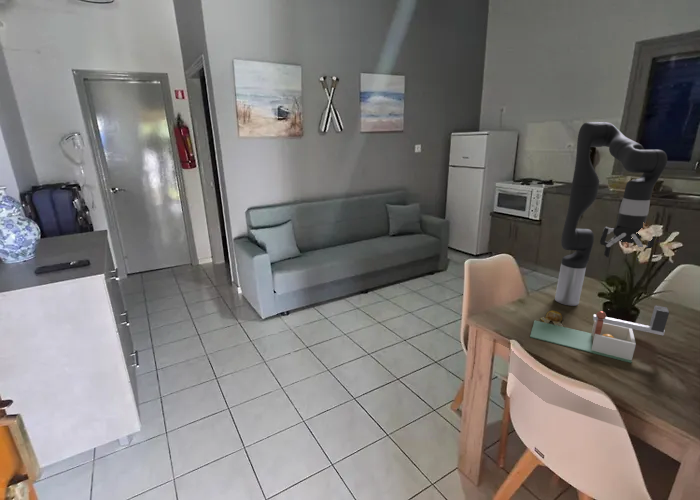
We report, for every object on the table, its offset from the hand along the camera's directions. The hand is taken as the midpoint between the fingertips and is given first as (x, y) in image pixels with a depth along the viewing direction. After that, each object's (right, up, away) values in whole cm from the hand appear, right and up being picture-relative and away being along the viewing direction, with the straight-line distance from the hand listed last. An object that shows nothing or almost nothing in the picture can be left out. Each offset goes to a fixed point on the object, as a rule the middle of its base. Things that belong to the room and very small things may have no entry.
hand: (622, 259), depth 123 cm
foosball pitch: (-11, -29, +7) cm, 32 cm away
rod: (0, -31, 0) cm, 31 cm away
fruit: (-13, -26, +20) cm, 35 cm away
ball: (-4, -28, +2) cm, 29 cm away
